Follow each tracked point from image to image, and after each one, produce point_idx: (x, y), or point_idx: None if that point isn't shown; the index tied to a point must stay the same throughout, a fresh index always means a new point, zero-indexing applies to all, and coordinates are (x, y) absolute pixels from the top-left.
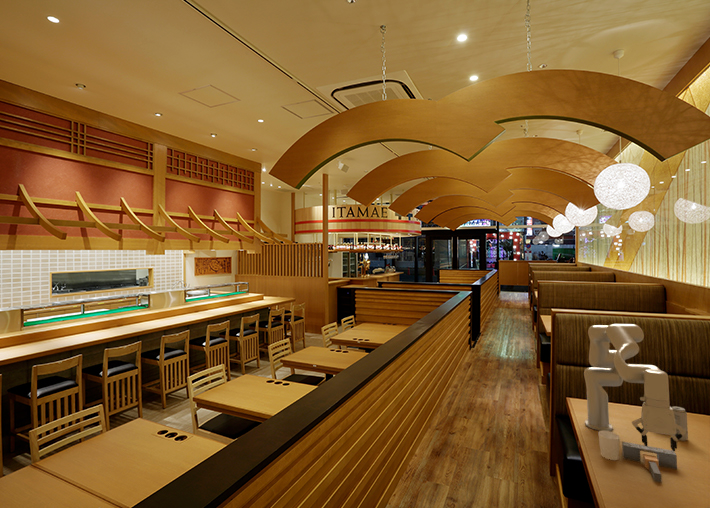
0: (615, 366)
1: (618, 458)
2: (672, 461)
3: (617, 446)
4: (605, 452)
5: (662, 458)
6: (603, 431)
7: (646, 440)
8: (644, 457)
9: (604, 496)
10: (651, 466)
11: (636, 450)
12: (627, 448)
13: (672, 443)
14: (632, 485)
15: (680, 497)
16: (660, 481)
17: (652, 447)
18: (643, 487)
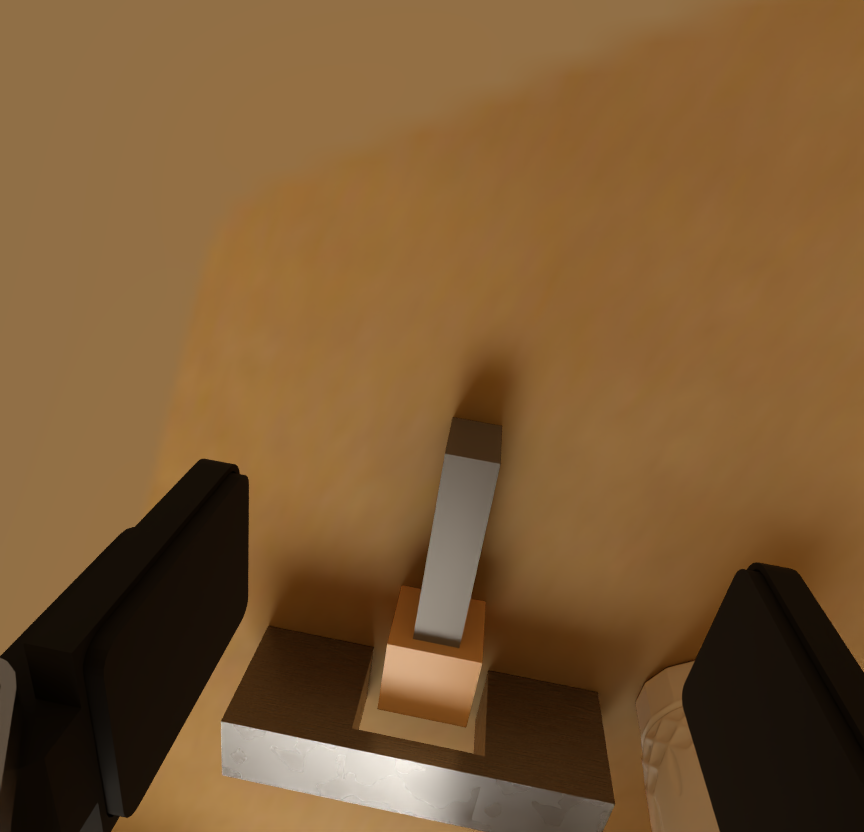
0: None
1: (648, 685)
2: (274, 674)
3: (694, 779)
4: None
5: (335, 695)
6: None
7: (840, 682)
8: (476, 684)
9: None
10: (475, 566)
11: (511, 757)
12: (579, 774)
13: (150, 593)
14: (752, 293)
15: (385, 209)
16: (458, 422)
17: (369, 799)
18: (656, 287)
